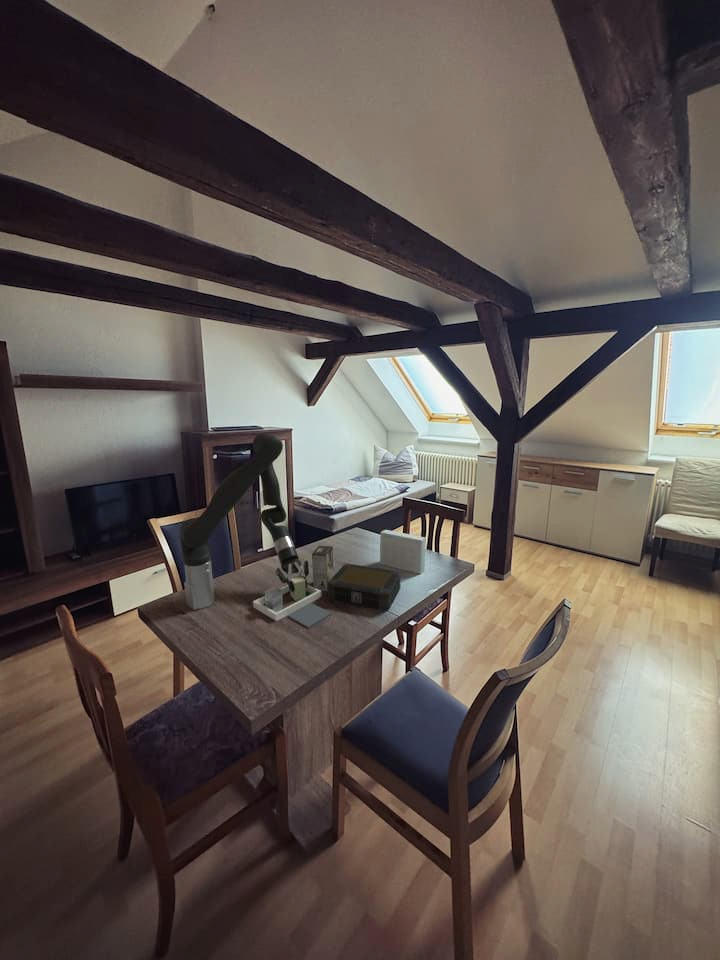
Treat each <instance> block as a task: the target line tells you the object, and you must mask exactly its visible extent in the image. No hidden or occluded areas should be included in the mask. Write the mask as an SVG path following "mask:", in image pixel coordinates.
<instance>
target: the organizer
mask: <svg viewBox="0 0 720 960" xmlns="http://www.w3.org/2000/svg"><path fill="white" fill-rule="evenodd" d="M279 589H280V590H282V596H283V595H285V594H287V593H290V589H289V586H288V584H287V585H285V586H282V587H281V588H279ZM305 590H306V593H309V595H306V597H305V598H302V599H299V600H297V601H296V602H294V603H292V604H291V605H288V606H287V607H285V608H284V607H283V609H282V610H280V611H278V612H275V611H273V610H271V609H269V608H268V607H266V602H265V595H264V596H262V597H259V598H257V599H255V600H253V601H252V605H253V606H252V607H253V608H254V609H256V610H257V611H259V612H261V613H262V614H263V615H265V616H268V618H269V619H270V618H271V619H272V620H274V621H275V622H277V621H279V620H281V619H283V618H285V617H288V615H289V614H291V613H293V612H295V611H297V610H299V609H301V608H302V607H304V606H306V605H308V604H310V603H312V602H314V601H316V600H318V599H320V598H322V590H318V589H316V588H314V587H313V586H311V585H310V584H308V585H307V587H306V588H305ZM264 604H265V605H264Z"/></svg>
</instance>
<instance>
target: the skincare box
mask: <svg viewBox="0 0 720 960" xmlns="http://www.w3.org/2000/svg"><path fill="white" fill-rule="evenodd" d="M426 538H427V537H425V536H419V535H414V534H409V533H404V532H401V531H400V532H398V531H395V530H389V529H384V530H382V531H380V538H379V539H380V544H379V565H384V566H386V567H392V568H394V569H399V570H403V571H408V572H410V573H416V574H418V575H421V574H422V573H423V572H424V571H425V569H426V568H425V567H426V566H425V565H426V563H425V562H426V544H427V543H426V541H427V540H426Z"/></svg>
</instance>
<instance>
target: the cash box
mask: <svg viewBox="0 0 720 960" xmlns="http://www.w3.org/2000/svg"><path fill="white" fill-rule="evenodd" d="M400 590H401V572H400V571H397V570H391V569H386V568H385V569H384V568H379V567H378V568H377V567H372V566H366V565H358V564H353V563H345V564H343V565H342V566H341V567H340V569H339V570H338V571H337V572H336V573H335V574H333V577H332V578H331V579H330V580H329V582H328V591H327V600H328V601H330V602H331V601H332V602H335V603H339V604H345V605H352V606H355V607H361V608H367V609H371V610H376V611H377V610H378V611H381V612H388V611H390V609H391V607H392V605H393V603H394V601H396V597H397V596H398V594H399V592H400Z"/></svg>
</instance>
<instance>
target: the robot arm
mask: <svg viewBox="0 0 720 960" xmlns="http://www.w3.org/2000/svg"><path fill="white" fill-rule="evenodd" d="M283 448H284V445H283V441H282V440H281V439H280V438H279V437H277V436H274V435H272V434H270V433H267V432H260V433H258V434H256V435H255V436H254V438H253V441H252V449H253V452H254V455H253V457H251V459H250V460H249V461H247V462H246V463H245V464H244V465H242V466H240V467H238V468H236V469H235V470H233V471H232V472H230V473H229V474H228V475H227V476H226V477H225V478H224V479H223V480H222V482H221V483H220V484H219V485H218V487H216V489H215V491H214V493H213V495H212V497H211V500H210V501H209V502H208V505H207V507H206V509H204V511H203V512H202V513H201V514H200V515H199V516H198V518H194V517H193V518H189V519H186V520H185V521H184V522H183V523H182V524H181V525H180V528H179V538H180V546H181V552H182V554H181V555H182V557H183V563H184V573H185V581H184V582H183V584H184V593H185V601H186V602H185V603H186V606H188V607H189V608H191V610H193V611H195V610H200V609H204V608H208V607H210V606H211V605H213V604H214V603H215V601H216V600H215V591H214V578H213V571H212V560H211V559H212V558H211V551H210V549H209V544H208V542H209V540H210V538H211V537H212V536H213V534H214V533H215V531H216V530H217V528H218V527H219V525H220V524H221V522H222V521H223V520H224V519H225V517H227V515H228V514H229V513H230V512H231V510H232V509H233V508H234V507H235V506H236V505H237V504H238V502H239V501H241V499H242V498H243V497H244V496H245V495H246V493H247V492H248V491H249V489H250V488H251V487H252V485H253V484H254V483H255V482H256V481H257V480H258V478H260V481H261V489H262V496H263V497H262V499H263V503H264V504H265V505H266V506H268V507H269V506H271V508H270V507H269V508H266V509H263V510H262V511H261V512H260V520H261V522H262V524H263V525H264V526H265V528H266V529H267V530H268V533H269V534H270V536H271V538H272V541H273V545H274V548H275V552H276V554H277V557H278V560H279V562H280V563H279V564H280V567H277V568H276V570H275V571H274V572H275V574H276V575H277V578H279V580H280V582H281V583H282V584H287V585H288V586H289V589H290V591H292V592H294V591H295V588H294V585H293V582H292V581H291V578H292V575H293V574H296V575H297V576H299V575H300V576H301V577H303V578H304V579H305V588H306V587H307V585H309V584H308V580H307V577H308V575H309V574H310V571H309V570H310V569H309V561H308V560H305V561H301V560H300V558H299V555H298V553H297V549H296V546H295V544H294V542H293V540H292V538H291V534H290V532H289V530H288V527H287V526H285V525H283V524H282V523H284V522H285V521H286V519H287V513H286V510H285V507H284V505H283V502H282V498H281V489H280V488H281V487H280V483H279V479H278V477H277V473H276V471H275V468H274V462H275V461H276V460H277V459H278V458H279V457H280V455H281V454H282V453H283V452H282V451H283ZM277 524H278V525H277ZM280 524H282V525H280ZM301 566H302V567H301ZM302 568H303V569H302ZM283 572H285V573H286V575H284V573H283ZM290 591H289V592H290Z"/></svg>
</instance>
